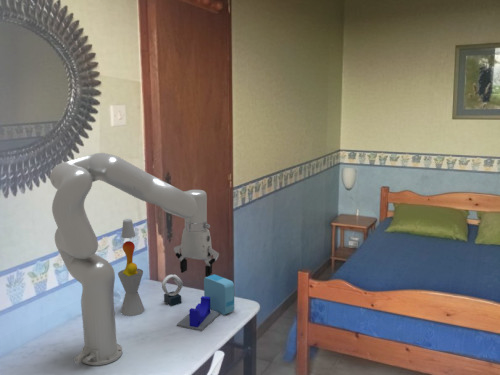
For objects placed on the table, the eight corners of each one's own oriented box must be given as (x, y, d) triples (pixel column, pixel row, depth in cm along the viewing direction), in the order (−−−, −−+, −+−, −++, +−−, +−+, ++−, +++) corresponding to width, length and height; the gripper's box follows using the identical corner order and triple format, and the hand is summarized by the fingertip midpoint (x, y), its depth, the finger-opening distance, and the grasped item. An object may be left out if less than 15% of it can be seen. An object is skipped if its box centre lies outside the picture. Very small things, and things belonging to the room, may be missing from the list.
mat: (201, 331, 171) (201, 329, 171) (176, 326, 175) (176, 324, 175) (220, 314, 184) (220, 312, 184) (195, 309, 188) (195, 308, 187)
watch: (185, 301, 194) (184, 275, 192) (167, 307, 190) (166, 280, 187) (178, 297, 199) (177, 270, 197) (160, 302, 194) (158, 275, 192)
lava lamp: (115, 310, 188) (109, 219, 181) (137, 303, 193) (132, 215, 187) (127, 318, 181) (122, 224, 174) (149, 310, 187) (145, 219, 180)
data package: (234, 312, 185) (234, 281, 183) (225, 316, 182) (225, 285, 180) (213, 302, 194) (212, 273, 191) (204, 306, 190) (203, 276, 188)
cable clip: (198, 310, 185) (198, 295, 184) (210, 312, 184) (210, 297, 183) (185, 325, 174) (185, 309, 173) (197, 327, 173) (197, 311, 171)
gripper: (223, 226, 172) (223, 273, 176) (179, 220, 179) (180, 266, 182) (213, 231, 166) (213, 281, 169) (168, 225, 172) (169, 273, 175)
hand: (196, 273), depth 175 cm, fingers open, 9 cm apart
